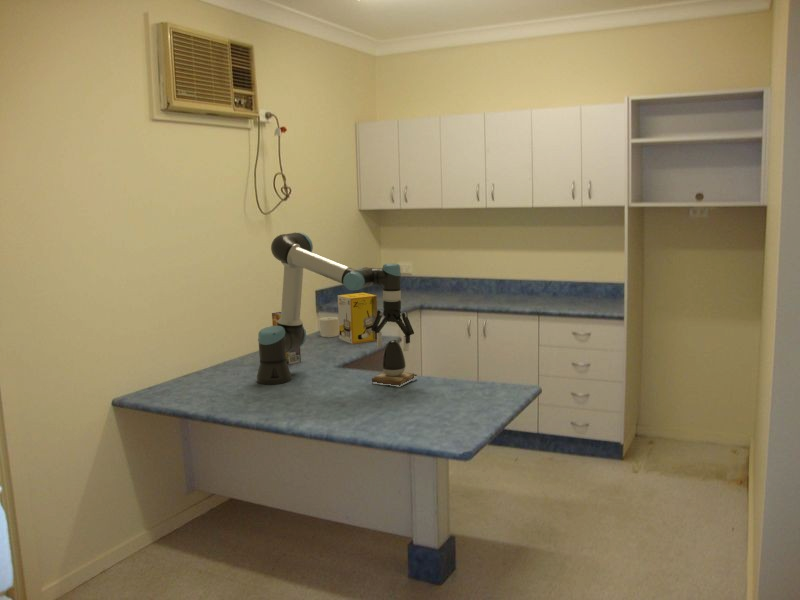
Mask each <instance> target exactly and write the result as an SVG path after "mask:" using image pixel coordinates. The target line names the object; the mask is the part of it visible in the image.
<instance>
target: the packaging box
mask: <svg viewBox="0 0 800 600" xmlns="http://www.w3.org/2000/svg"><path fill="white" fill-rule="evenodd" d="M337 310H338V311H337V312H338V324H339V335H338V336H339V337H338V338H339V340H340V341H344V342H345V343H346V342H347V343H348V344H352V345H354V344H361V343H368V342H369V343H370V342H374V341H376V342H377V340H376V339H375V332H374V331H372V330H371V328H372V326H373V324H374V321H375V319H376V317H377V311H378V310H379V309H378V295H376V294H370V293H366V292H358V293H345V294H340V295H339V294H338V295H337Z"/></svg>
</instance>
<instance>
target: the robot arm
mask: <svg viewBox="0 0 800 600" xmlns="http://www.w3.org/2000/svg"><path fill="white" fill-rule="evenodd" d="M313 249H314V246H313V241H312V240H311V238H310V237H309V236H308V235H307V234H306V233H303V232H292V233H291V232H290V233H282V234H279V235H277V236H276V237H274V238H273V240H272V242H271V246H270V251H271V253H272V256H273V257H274V258H275V259H276V260H278V261H280V262H281V264H282V265H283V276H282V277H283V280H282V281H283V282H282V294H281V295H282V296H281V297H282V298H281V309H280V310H281V311H280V312H281V318H280V319H279V320H278V321H277V326H273V325H270V326H266V327H264V328H262V329H260V330H259V331H258V336H257V337H258V338H257V342H258V353H259V367H258V371H257V375H256V382H257V383H258V384H261V385H262V384H263V385H277V384H278V385H279V384H284V383H287V382H290V381H291V380H292V373H291V372H290V369H289V364H287V361H286V353H287V352H289V351H292V350H295V349H298V348H299V347H300V348H301V347H302V346H303V345H305V342H306V339H307V331H306V329H305V327H304V326H303V325H304V323H303V322H304V321H302V320H301V308H302V307H301V305H302V290H303V278H304V277H303V276H304V269H306V270H308V271H310V272H313V273H315V274H318V275H320V276H323V277H324V278H327V279H330V280H331V281H332V280H333V281H334V282H337V283H340V284H341V285H344V287H345V288H346V289H347V290H349V291H358V290H361V289H364V288H368V287H371V286H372V287H373V286H374V287H375V286H378V287H382V299H383V303H382V304H383V305H382V309H378V311H377V317H376V319H375V321H374V324H373V326H372V328H371V330H372V331H374V332H375V339H376V348H377V349H380V348H382V347H383V336H382V335H383V333H382V329H383V328H384V327H385V325H386V324H387V322H390V323H395V324H397V325H398V327H399V329H400V330H401V331H402V333H403V334H404V335H403V352H408V351H409V350H410V349H409V346H410V345H409V344H410V343H411V336H413V335H414V334H415V332H414V329H413V327H412V324H411V321H410V320H409V317H408V311H407V312H406V311H405V312H402V307H401V306H402V305H401V304H402V301H401V298H402V297H401V296H402V292H401V290H402V289H401V282H402V281H401V277H402V273H401V266H400V264H398V263H384V264H383V265H382V268H381V267H380V268H379V267H377V268H376V267H368V266H365V267H359V268H358V269H354V268H352V267H349V266H348V265H344V264H343V263H339V262H338V261H335V260H332V259H329V258H328V257H325V256H322V255H320V254H317V253H315V252H313ZM382 317H383V319H382ZM381 319H382V320H381Z"/></svg>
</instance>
